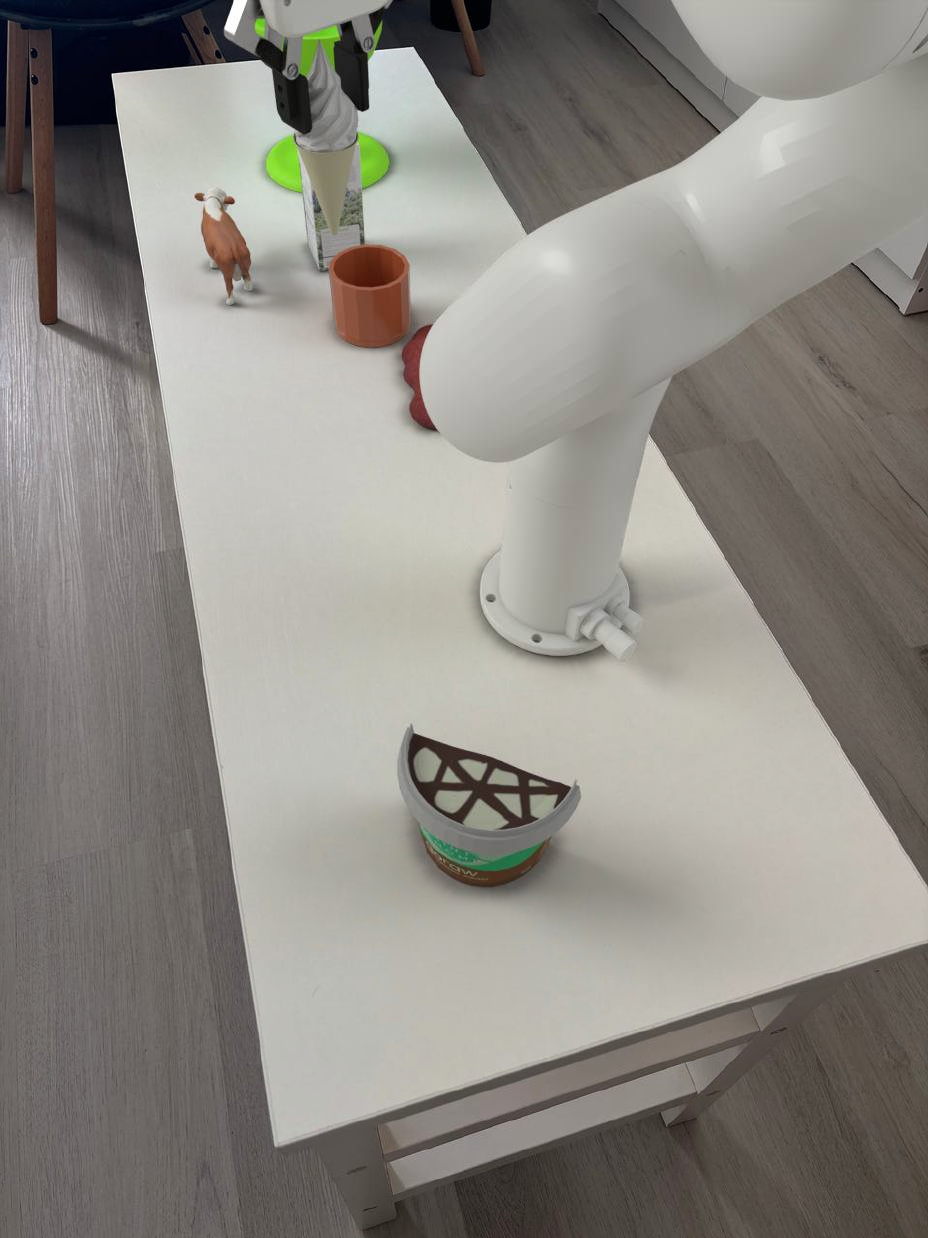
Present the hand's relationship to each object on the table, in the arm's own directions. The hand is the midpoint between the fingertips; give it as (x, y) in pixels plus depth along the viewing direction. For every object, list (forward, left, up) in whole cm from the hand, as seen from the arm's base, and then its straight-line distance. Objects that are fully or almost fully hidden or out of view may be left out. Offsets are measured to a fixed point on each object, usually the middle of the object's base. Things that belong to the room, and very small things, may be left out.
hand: (325, 112), depth 73 cm
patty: (-3, -13, -30) cm, 32 cm away
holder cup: (+11, -11, -30) cm, 33 cm away
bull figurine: (+28, -4, -30) cm, 41 cm away
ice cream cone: (0, 0, -10) cm, 10 cm away
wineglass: (+42, -28, -30) cm, 58 cm away
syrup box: (+24, -16, -30) cm, 41 cm away
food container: (-42, +22, -30) cm, 56 cm away
